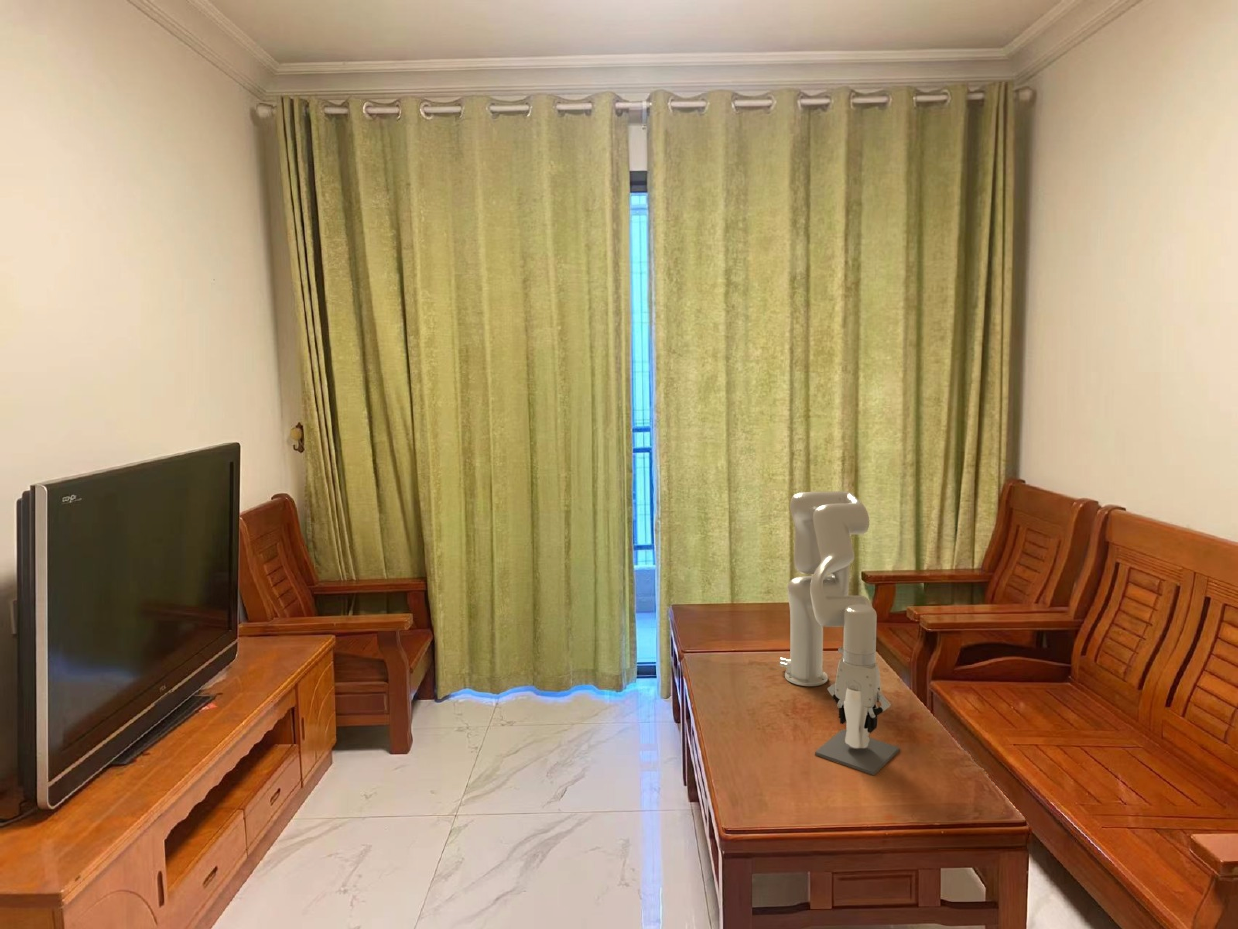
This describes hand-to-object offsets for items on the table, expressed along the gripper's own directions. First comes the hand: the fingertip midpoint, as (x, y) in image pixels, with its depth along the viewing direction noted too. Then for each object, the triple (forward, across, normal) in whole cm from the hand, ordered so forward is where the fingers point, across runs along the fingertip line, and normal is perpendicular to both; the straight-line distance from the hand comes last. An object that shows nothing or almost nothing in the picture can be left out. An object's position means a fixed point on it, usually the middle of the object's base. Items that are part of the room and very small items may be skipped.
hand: (857, 725), depth 190 cm
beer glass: (+5, 0, 0) cm, 5 cm away
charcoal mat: (+7, 0, 0) cm, 7 cm away
